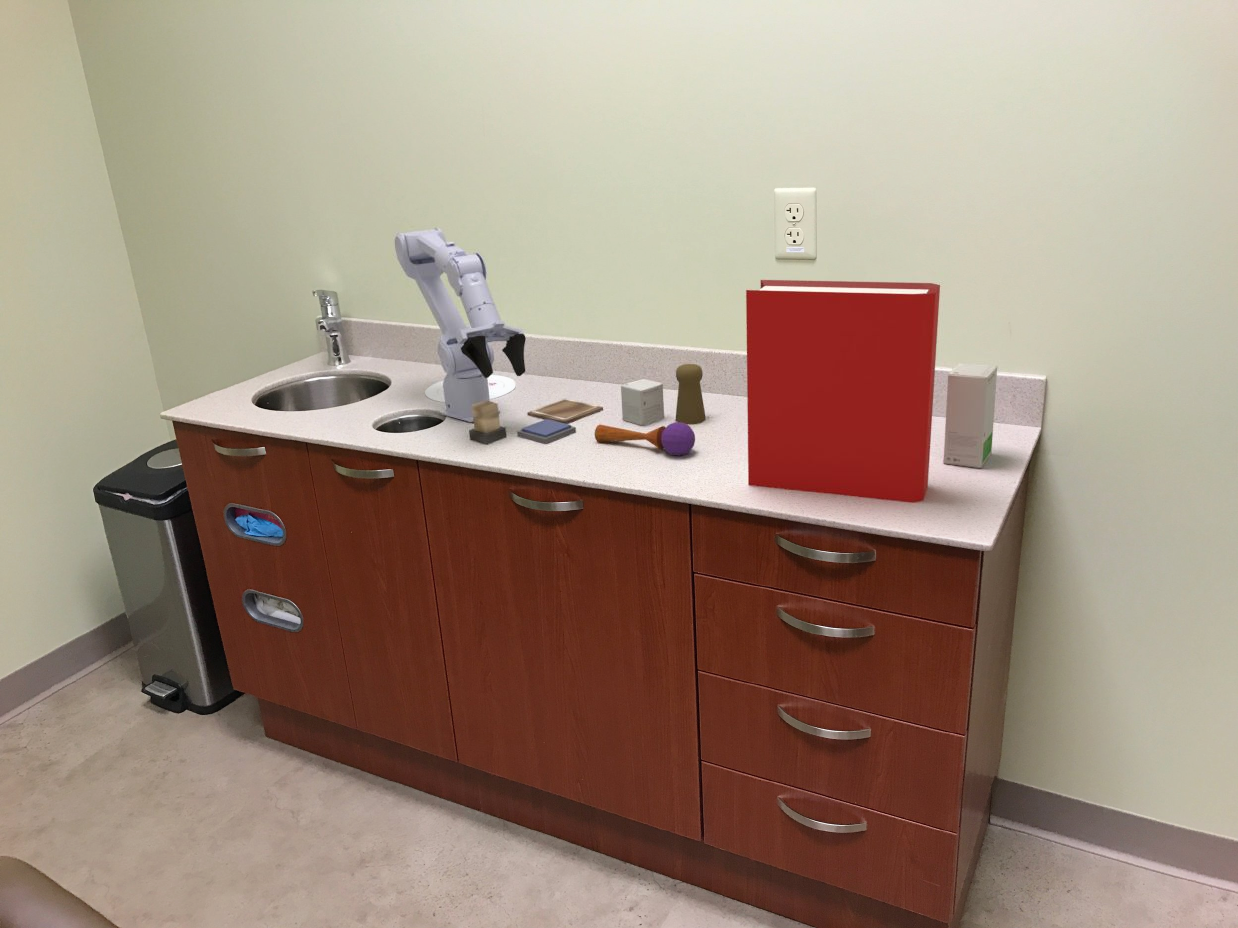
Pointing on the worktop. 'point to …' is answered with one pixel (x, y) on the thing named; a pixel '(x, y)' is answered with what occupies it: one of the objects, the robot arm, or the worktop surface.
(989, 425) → the skincare box
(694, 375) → the cork
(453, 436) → the worktop surface
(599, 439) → the purple maraca
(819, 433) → the book
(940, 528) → the worktop surface
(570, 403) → the board
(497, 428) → the stamp
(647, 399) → the skincare box
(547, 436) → the ink pad
